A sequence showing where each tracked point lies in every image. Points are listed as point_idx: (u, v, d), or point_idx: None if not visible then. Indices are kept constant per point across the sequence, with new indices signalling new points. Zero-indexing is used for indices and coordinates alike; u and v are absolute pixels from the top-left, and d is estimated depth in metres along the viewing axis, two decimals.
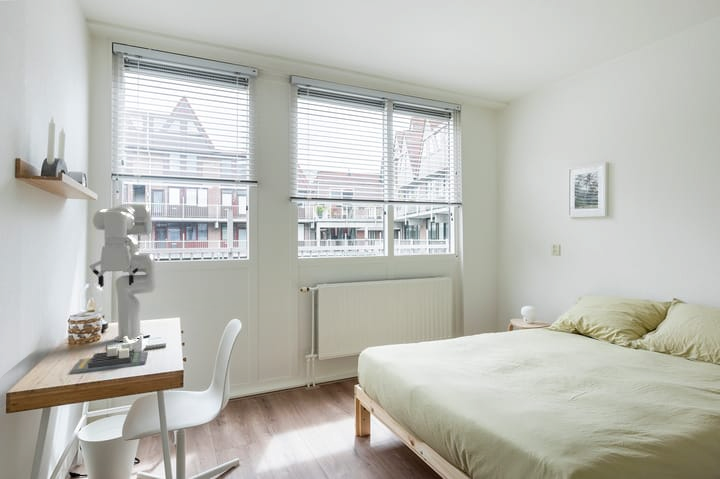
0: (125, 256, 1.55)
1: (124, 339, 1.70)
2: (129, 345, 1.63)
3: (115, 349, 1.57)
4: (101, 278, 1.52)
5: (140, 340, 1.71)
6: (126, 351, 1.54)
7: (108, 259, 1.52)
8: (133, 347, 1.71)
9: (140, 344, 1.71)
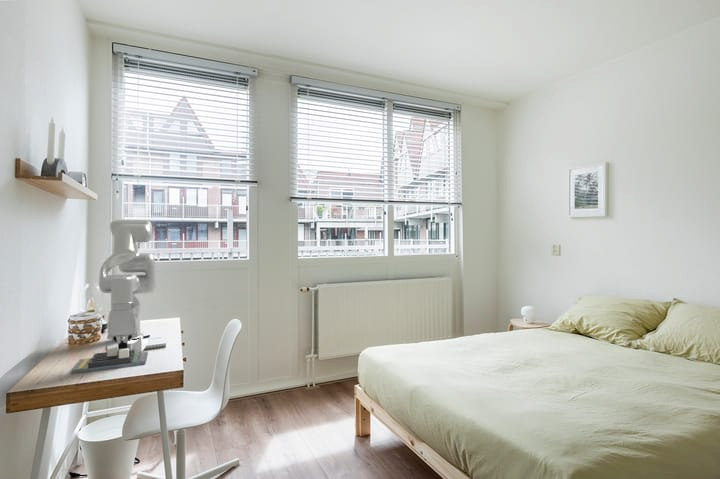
0: (132, 321, 1.58)
1: None
2: (129, 345, 1.63)
3: (115, 349, 1.57)
4: (121, 345, 1.57)
5: (140, 340, 1.71)
6: (126, 351, 1.54)
7: (114, 324, 1.56)
8: (133, 347, 1.70)
9: (140, 344, 1.71)
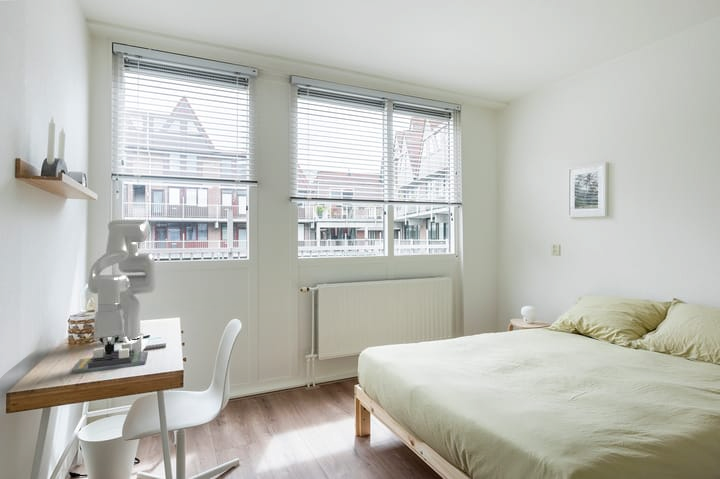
0: (119, 322, 1.56)
1: (123, 340, 1.69)
2: (129, 345, 1.63)
3: (102, 350, 1.55)
4: (107, 346, 1.56)
5: (140, 341, 1.70)
6: (126, 351, 1.54)
7: (101, 325, 1.54)
8: (133, 348, 1.70)
9: (140, 345, 1.70)
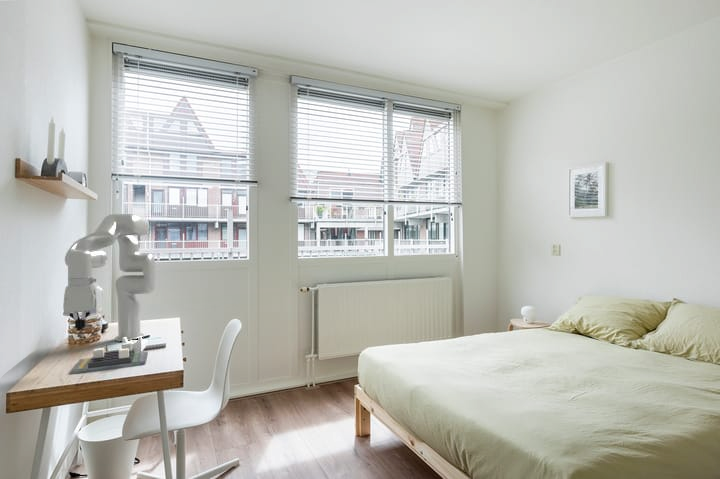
0: (90, 296, 1.52)
1: (123, 340, 1.68)
2: (129, 345, 1.63)
3: (101, 350, 1.55)
4: (78, 322, 1.51)
5: (139, 341, 1.70)
6: (126, 351, 1.54)
7: (71, 300, 1.50)
8: (132, 348, 1.69)
9: (139, 345, 1.70)
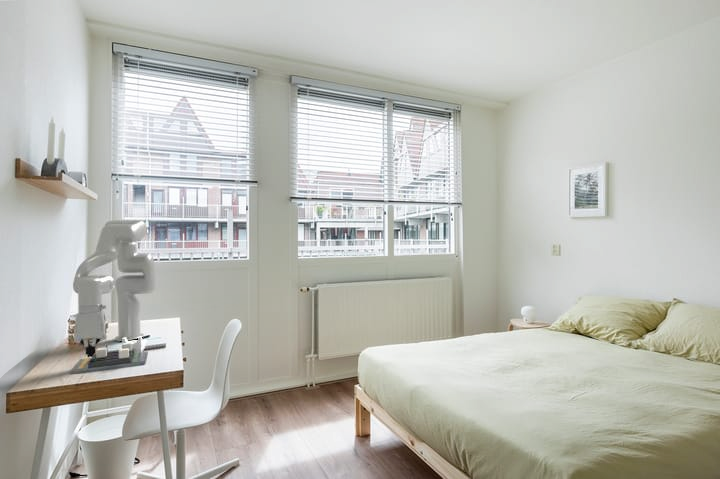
0: (100, 323, 1.54)
1: (123, 340, 1.68)
2: (129, 345, 1.63)
3: (104, 350, 1.55)
4: (88, 348, 1.53)
5: (139, 341, 1.70)
6: (126, 351, 1.54)
7: (81, 327, 1.51)
8: (132, 348, 1.69)
9: (139, 345, 1.70)
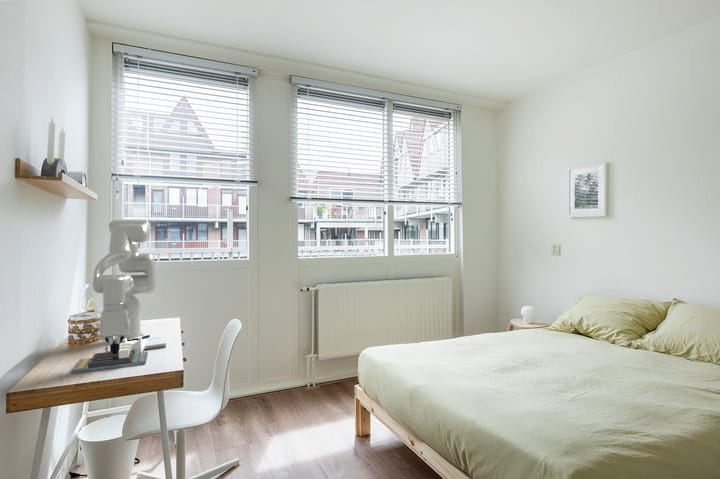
0: (124, 321, 1.57)
1: (123, 340, 1.67)
2: None
3: None
4: (113, 346, 1.56)
5: (139, 341, 1.69)
6: (126, 351, 1.54)
7: (106, 325, 1.55)
8: (132, 348, 1.68)
9: (139, 345, 1.69)
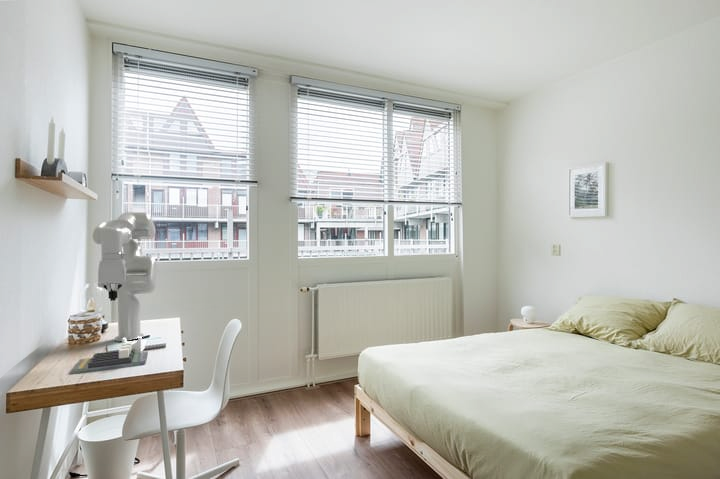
0: (121, 270, 1.66)
1: (123, 341, 1.67)
2: None
3: None
4: (111, 293, 1.66)
5: (139, 342, 1.69)
6: (126, 351, 1.54)
7: (105, 273, 1.64)
8: None
9: (139, 346, 1.69)
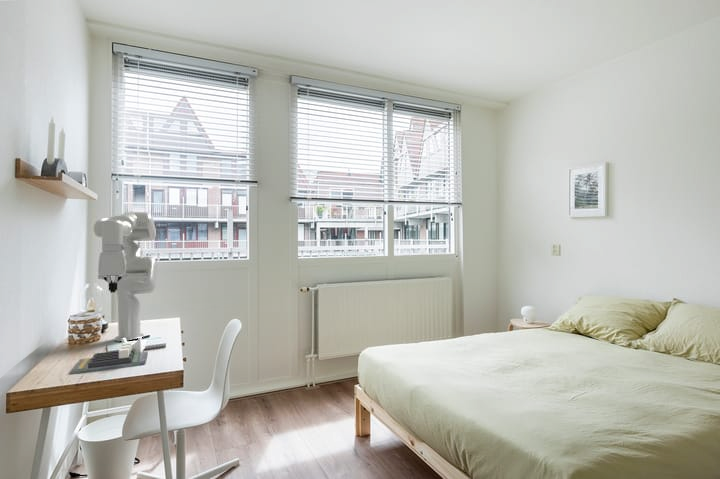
0: (121, 262, 1.67)
1: (122, 341, 1.67)
2: None
3: None
4: (111, 284, 1.66)
5: (139, 342, 1.68)
6: (126, 351, 1.54)
7: (105, 264, 1.65)
8: None
9: (139, 346, 1.68)
